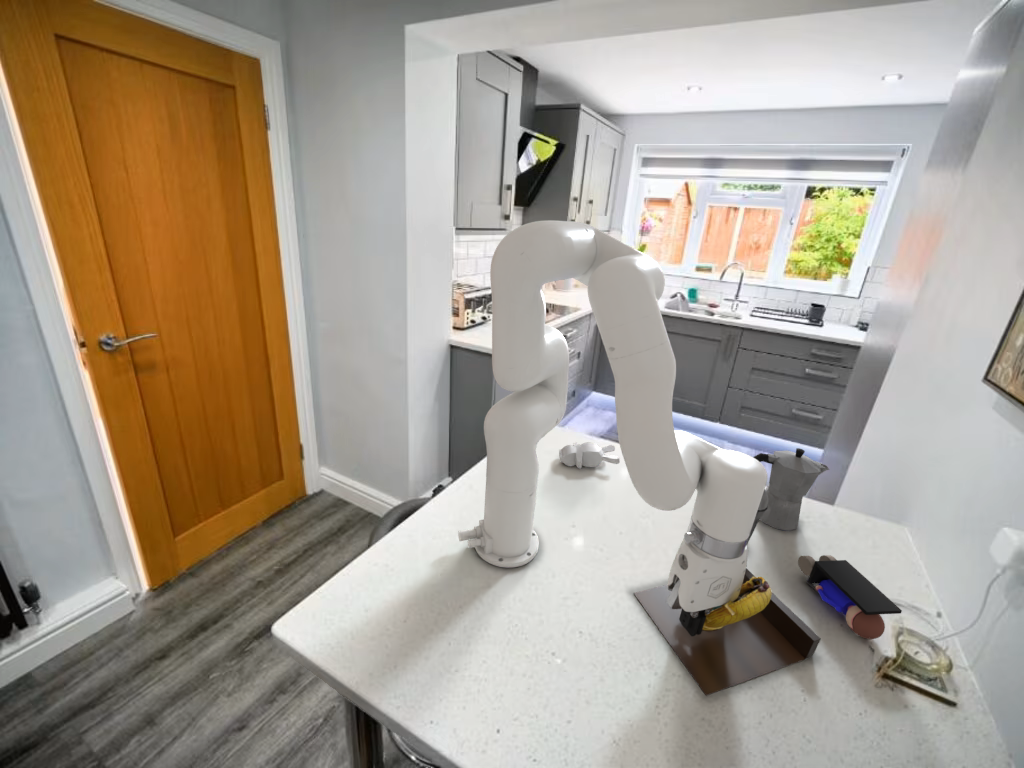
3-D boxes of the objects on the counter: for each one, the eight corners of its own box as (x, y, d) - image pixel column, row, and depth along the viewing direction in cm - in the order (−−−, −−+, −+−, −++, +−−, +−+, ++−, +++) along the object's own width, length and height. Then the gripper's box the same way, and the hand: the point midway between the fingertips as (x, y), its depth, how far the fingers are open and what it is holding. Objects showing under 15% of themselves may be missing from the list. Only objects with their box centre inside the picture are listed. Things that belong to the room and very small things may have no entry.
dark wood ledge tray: (705, 695, 61) (712, 676, 60) (633, 593, 77) (637, 576, 75) (812, 656, 68) (821, 638, 66) (726, 569, 83) (731, 553, 82)
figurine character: (788, 580, 84) (854, 647, 70) (797, 546, 82) (868, 607, 67) (820, 579, 85) (892, 645, 70) (830, 546, 83) (906, 606, 68)
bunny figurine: (557, 439, 118) (613, 436, 118) (558, 455, 120) (612, 453, 120) (561, 457, 109) (621, 455, 109) (561, 474, 111) (620, 472, 111)
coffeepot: (798, 509, 103) (824, 443, 96) (816, 537, 94) (846, 466, 87) (729, 498, 105) (750, 432, 98) (740, 523, 96) (764, 453, 90)
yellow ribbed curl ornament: (756, 653, 68) (795, 584, 62) (714, 664, 65) (751, 593, 59) (706, 591, 78) (736, 527, 72) (668, 599, 75) (696, 532, 69)
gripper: (691, 563, 56) (664, 661, 63) (779, 543, 61) (745, 637, 68) (656, 525, 63) (635, 618, 70) (738, 510, 67) (711, 598, 74)
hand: (689, 627), depth 69 cm, fingers closed
